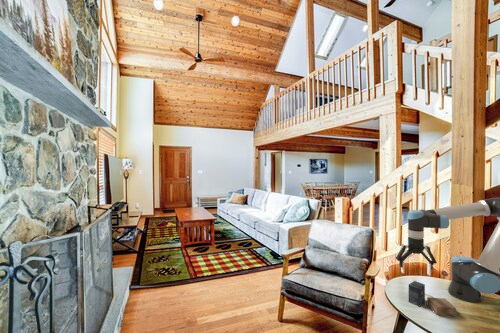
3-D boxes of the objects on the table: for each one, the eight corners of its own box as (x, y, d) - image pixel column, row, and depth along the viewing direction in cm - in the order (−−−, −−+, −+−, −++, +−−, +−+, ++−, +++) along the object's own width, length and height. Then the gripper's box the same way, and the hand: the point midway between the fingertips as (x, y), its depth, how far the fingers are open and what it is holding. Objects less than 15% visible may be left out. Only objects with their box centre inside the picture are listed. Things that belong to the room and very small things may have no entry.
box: (419, 306, 135) (419, 288, 135) (408, 302, 140) (408, 284, 140) (425, 302, 140) (425, 284, 140) (414, 297, 144) (414, 280, 144)
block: (445, 307, 135) (445, 298, 135) (456, 317, 126) (456, 308, 126) (427, 306, 136) (427, 297, 136) (437, 316, 127) (436, 306, 127)
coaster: (430, 294, 147) (430, 293, 147) (438, 302, 139) (438, 301, 139) (413, 293, 149) (413, 292, 149) (420, 301, 141) (420, 300, 141)
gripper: (436, 236, 141) (436, 272, 141) (389, 234, 146) (389, 269, 146) (444, 240, 133) (444, 278, 133) (394, 237, 139) (394, 274, 139)
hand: (415, 273), depth 140 cm, fingers open, 13 cm apart
